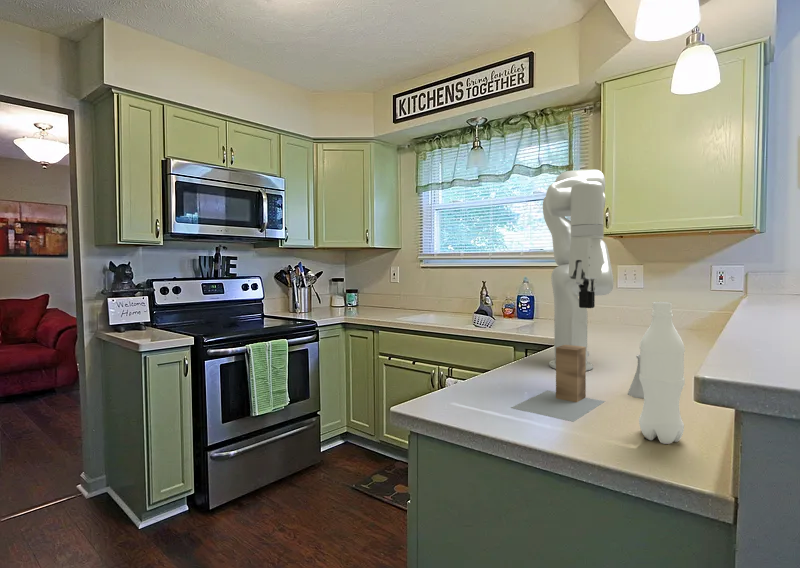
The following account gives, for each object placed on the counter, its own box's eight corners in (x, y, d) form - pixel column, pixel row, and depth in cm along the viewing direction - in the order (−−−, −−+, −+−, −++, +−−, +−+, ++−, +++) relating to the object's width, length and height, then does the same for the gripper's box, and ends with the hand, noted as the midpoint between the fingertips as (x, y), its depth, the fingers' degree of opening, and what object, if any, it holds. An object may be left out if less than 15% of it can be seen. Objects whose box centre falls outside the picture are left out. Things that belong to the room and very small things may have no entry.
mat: (547, 392, 116) (547, 390, 116) (605, 403, 106) (605, 401, 106) (510, 410, 103) (510, 407, 102) (573, 424, 93) (573, 421, 93)
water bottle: (675, 432, 88) (676, 300, 87) (690, 447, 81) (692, 304, 80) (634, 430, 89) (634, 300, 88) (645, 445, 82) (646, 304, 81)
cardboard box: (565, 393, 113) (565, 344, 112) (585, 397, 109) (586, 346, 109) (555, 398, 109) (555, 347, 108) (577, 402, 106) (577, 349, 105)
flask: (665, 402, 107) (665, 359, 106) (631, 401, 108) (631, 358, 108) (654, 393, 114) (655, 353, 113) (623, 392, 115) (623, 352, 115)
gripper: (583, 235, 122) (583, 305, 123) (559, 232, 111) (559, 309, 112) (613, 233, 117) (613, 306, 118) (590, 230, 106) (590, 310, 107)
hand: (586, 307), depth 115 cm, fingers closed
